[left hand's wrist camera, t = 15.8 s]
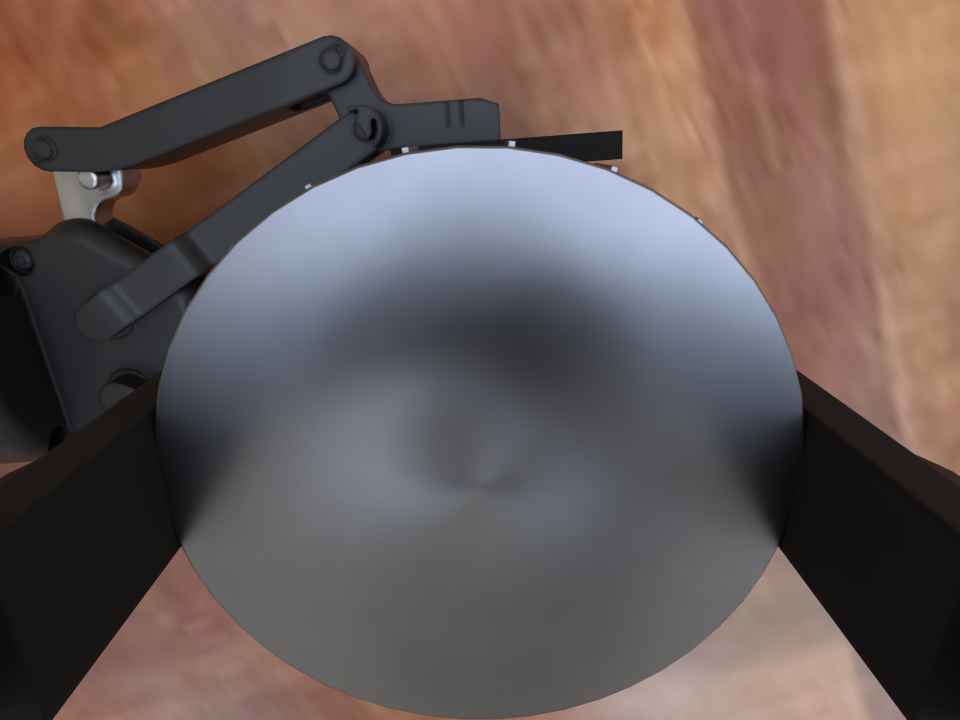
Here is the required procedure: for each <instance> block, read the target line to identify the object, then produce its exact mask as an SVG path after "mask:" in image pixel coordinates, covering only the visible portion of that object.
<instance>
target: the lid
mask: <svg viewBox="0 0 960 720" xmlns="http://www.w3.org/2000/svg"><path fill="white" fill-rule="evenodd" d="M515 145H516V141H510V140H509V141H505V145H504V146H450V147H443V148H435V149H427V150H420V151H419V149H418V146H407V147H403V148H401V150H402V154H398V155H395V156H391V157H387V158H384V159H380V160H377V161H373V162H369V163H366V164H362V165H359V166H356V167H354V168H352V169H349V170H347V171H345V172H342V173H340V174H338V175H335V176H333V177H331V178H329V179H326V180H322V181H317V182H313V183H309V184H307V185H305V186H304V188H305V189H306V190H305V191H303V192H301V193H300V194H298V195H297V196H295V197H293V198H292V199H290V200H289V201H287V202H285V203H284V204H282V205H281V206H279V207H277V208H276V209H274V210H273V211H271V212H270V213H269V214H268V215H267V216H265V217H264V218H263V219H262V220H261V221H259V222H258V223H257V224H256V225H255V226H254V227H252V228H251V229H250V230H249V231H248V232H247V233H245V234H244V235H243V236H242V237H241V238H239V239H238V240H237V241H236V242H235V243H234V244H233V245H232V246H231V247H230V248H229V250H228V252H227V253H226V254H225V255H224V256H223V257H222V258H221V260H220V261H219V262H218V263H217V264H216V265H215V266H214V268H213V269H212V270H211V271H210V272H209V273H208V275H207V276H206V278H205V279H204V281H203V283H202V284H201V286H200V287H199V289H198V290H197V292H196V294H195V295H194V297H193V298H192V300H191V302H190V303H189V305H188V306H187V308H186V309H185V311H184V314H183V316H182V318H181V320H180V323H179V325H178V327H177V330H176V332H175V334H174V337H173V339H172V341H171V344H170V346H169V348H168V352H167V356H166V360H165V364H164V367H163V371H162V375H161V379H160V383H159V387H158V395H157V405H156V416H155V426H154V429H155V445H156V451H157V457H158V461H159V466H160V471H161V475H162V480H163V485H164V490H165V494H166V499H167V504H168V508H169V513H170V517H171V521H172V525H173V528H174V531H175V534H176V536H177V538H178V540H179V542H180V544H181V546H182V548H183V550H184V552H185V554H186V556H187V557H188V559H189V561H190V563H191V565H192V567H193V569H194V570H195V572H196V573H197V574H198V576H199V577H200V579H201V580H202V582H203V583H204V584H205V586H206V587H207V589H208V590H209V592H210V593H211V595H212V596H213V597H214V598H215V599H216V601H217V602H218V603H219V604H220V605H221V606H222V607H223V608H224V610H225V611H226V612H227V613H228V614H229V615H230V616H231V617H232V618H233V620H234V621H235V622H236V623H237V624H238V625H239V626H240V627H242V628H243V629H244V630H245V631H246V632H247V633H248V634H250V635H251V636H252V637H253V638H254V639H255V640H256V641H258V642H259V643H260V644H261V645H262V646H263V647H265V648H266V649H267V650H269V651H270V652H272V653H273V654H275V655H276V656H277V657H279V658H280V659H282V660H283V661H285V662H286V663H287V664H289V665H290V666H292V667H293V668H295V669H297V670H299V671H301V672H302V673H304V674H306V675H308V676H310V677H312V678H313V679H315V680H317V681H319V682H321V683H322V684H325V685H327V686H329V687H332V688H334V689H336V690H339V691H341V692H344V693H346V694H348V695H351V696H353V697H355V698H358V699H362V700H365V701H368V702H371V703H375V704H378V705H381V706H384V707H388V708H392V709H397V710H401V711H406V712H411V713H416V714H421V715H428V716H437V717H447V718H457V719H501V718H512V717H524V716H532V715H538V714H543V713H548V712H554V711H559V710H564V709H568V708H571V707H575V706H578V705H582V704H585V703H589V702H592V701H595V700H599V699H601V698H604V697H606V696H609V695H611V694H614V693H616V692H619V691H621V690H624V689H626V688H629V687H631V686H633V685H635V684H637V683H639V682H640V681H642V680H644V679H646V678H648V677H650V676H652V675H654V674H656V673H658V672H659V671H661V670H663V669H664V668H666V667H667V666H669V665H670V664H672V663H673V662H675V661H676V660H678V659H679V658H681V657H682V656H684V655H685V654H687V653H688V652H690V651H691V650H692V649H694V648H695V647H696V646H697V645H698V644H699V643H701V642H702V641H703V640H704V639H705V638H707V637H708V636H709V635H710V634H711V633H712V632H714V631H715V630H716V629H717V628H718V627H719V626H720V625H721V624H722V623H723V622H724V621H725V620H726V619H727V618H728V617H729V616H730V614H731V613H732V612H733V611H734V610H735V609H736V608H737V607H738V606H739V605H740V604H741V603H742V602H743V600H744V599H745V597H746V596H747V595H748V593H749V592H750V591H751V589H752V588H753V586H754V585H755V584H756V582H757V581H758V580H759V578H760V577H761V575H762V574H763V573H764V571H765V569H766V567H767V565H768V563H769V562H770V560H771V558H772V556H773V554H774V552H775V551H776V549H777V547H778V545H779V543H780V541H781V539H782V536H783V534H784V531H785V529H786V526H787V523H788V520H789V516H790V512H791V508H792V503H793V498H794V493H795V489H796V484H797V479H798V475H799V470H800V465H801V460H802V454H803V449H804V436H805V430H804V417H803V404H802V393H801V389H800V384H799V380H798V376H797V372H796V367H795V363H794V359H793V355H792V352H791V350H790V347H789V345H788V342H787V340H786V337H785V335H784V332H783V330H782V327H781V325H780V323H779V320H778V318H777V316H776V314H775V312H774V311H773V309H772V307H771V306H770V304H769V302H768V301H767V299H766V297H765V296H764V294H763V292H762V291H761V289H760V287H759V286H758V284H757V282H756V281H755V279H754V278H753V277H752V276H751V274H750V273H749V272H748V271H747V270H746V268H745V267H744V266H743V265H742V264H741V262H740V261H739V260H738V259H737V258H736V256H735V255H734V254H733V253H732V252H731V250H730V249H729V248H728V247H727V246H726V245H725V244H724V243H723V242H722V241H721V240H720V239H719V238H717V237H716V236H715V235H714V234H713V233H712V232H711V231H710V230H708V229H707V228H706V227H705V226H704V225H703V223H704V222H703V221H702V220H701V219H700V218H697V217H694V216H693V215H691V214H690V213H688V212H687V211H685V210H684V209H682V208H681V207H679V206H678V205H676V204H675V203H673V202H671V201H670V200H668V199H667V198H665V197H664V196H662V195H661V194H659V193H658V192H656V191H655V190H653V189H651V188H649V187H647V186H645V185H643V184H641V183H638V182H636V181H634V180H632V179H630V178H628V177H625V176H623V175H621V174H619V173H617V171H618V169H619V168H618V167H615V166H613V165H607V164H600V163H594V164H592V163H588V162H585V161H582V160H578V159H575V158H572V157H568V156H565V155H562V154H557V153H551V152H544V151H538V150H531V149H524V148H518V147H515Z"/></svg>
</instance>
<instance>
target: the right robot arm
mask: <svg viewBox="0 0 960 720" xmlns="http://www.w3.org/2000/svg"><path fill="white" fill-rule="evenodd" d="M331 101H332V103H333V105H334V107H335V109H336V111H337V113H338V115H339V117H340V119H339V120H337V121H336V122H335V123H333V124H332V125H331V126H329V127H328V128H327V129H325V130H324V131H323V132H321V133H320V134H319V135H317V136H316V137H315V138H313V139H312V140H310V141H309V142H308V143H306V144H305V145H304V146H302V147H301V148H300V149H298V150H297V151H296V152H294V153H293V154H292V155H290V156H289V157H288V158H286V159H285V160H284V161H282V162H281V163H279V164H278V165H277V166H275V167H274V168H273V169H271V170H270V171H269V172H267V173H266V174H265V175H263V176H262V177H261V178H259V179H258V180H257V181H255V182H254V183H253V184H251V185H250V186H248V187H247V188H246V189H244V190H243V191H242V192H240V193H239V194H238V195H236V196H235V197H234V198H232V199H231V200H230V201H228V202H227V203H226V204H224V205H223V206H222V207H220V208H219V209H217V210H216V211H215V212H213V213H212V214H211V215H209V216H208V217H207V218H205V219H204V220H203V221H201V222H200V223H199V224H197V225H196V226H195V227H193V228H192V229H190V230H189V231H187V232H186V233H184V234H182V235H180V236H179V237H177V238H175V239H173V240H172V241H170V242H168V243H167V244H166V245H163V244H161V243H159V242H158V241H156V240H154V239H152V238H150V237H149V236H147V235H145V234H143V233H141V232H140V231H138V230H136V229H134V228H133V227H131V226H129V225H127V224H125V223H124V222H122V221H120V220H118V219H116V218H113V216H112V209H113V205H114V204H115V202H116V201H117V200H118V199H119V198H121V197H124V196H128V195H131V194H132V193H134V192H135V191H136V189H137V188H138V184H139V183H140V181H141V173H140V171H139V170H138V169H149V168H156V167H162V166H166V165H169V164H173V163H176V162H179V161H181V160H184V159H186V158H189V157H191V156H194V155H196V154H199V153H202V152H204V151H207V150H209V149H212V148H214V147H217V146H219V145H222V144H224V143H227V142H229V141H232V140H235V139H237V138H240V137H242V136H245V135H247V134H250V133H252V132H255V131H257V130H260V129H263V128H265V127H268V126H270V125H273V124H275V123H278V122H280V121H283V120H285V119H288V118H290V117H293V116H296V115H298V114H301V113H303V112H306V111H308V110H311V109H313V108H316V107H318V106H321V105H324V104H326V103H329V102H331ZM509 140H510V141H516V145H515V147H518V148H524V149H531V150H538V151H544V152H551V153H557V154H562V155H565V156H568V157H572V158H575V159H578V160H582V161H585V162H587V161H600V160H613V159H622V131H609V132H596V133H583V134H570V135H557V136H544V137H531V138H518V139H505V140H501V136H500V118H499V104H497V103H494V102H491V101H488V100H485V99H482V98H474V99H462V100H449V101H436V102H423V103H411V104H391V103H389V102H387V101H386V100H385V99H384V98H383V96H382V95H381V93H380V92H379V90H378V87H377V85H376V83H375V81H374V79H373V77H372V74H371V72H370V70H369V64H368V62H367V60H366V59H365V57H364V56H363V55H362V54H361V53H359V52H358V51H357V50H356V49H355V48H353V47H352V46H351V45H349V44H348V43H347V42H345V41H344V40H342V39H341V38H339V37H336V36H332V35H330V36H324V37H321V38H318V39H316V40H313V41H311V42H309V43H306V44H304V45H301V46H299V47H296V48H294V49H291V50H289V51H286V52H284V53H282V54H279V55H277V56H274V57H272V58H269V59H267V60H264V61H262V62H260V63H257V64H255V65H252V66H250V67H247V68H245V69H242V70H240V71H237V72H235V73H233V74H230V75H228V76H225V77H223V78H220V79H218V80H215V81H213V82H210V83H208V84H206V85H203V86H201V87H198V88H196V89H193V90H191V91H188V92H186V93H184V94H181V95H179V96H176V97H174V98H171V99H169V100H166V101H164V102H161V103H159V104H157V105H154V106H152V107H149V108H147V109H144V110H142V111H139V112H137V113H134V114H132V115H130V116H127V117H125V118H122V119H120V120H117V121H115V122H112V123H110V124H108V125H105V126H103V127H100V128H96V127H37V128H33V129H31V130H30V131H29V132H28V133H27V134H26V137H25V139H24V149H25V152H26V154H27V156H28V158H29V159H30V161H31V162H32V163H33V164H34V165H35V166H37V167H38V168H40V169H42V170H45V171H50V172H53V174H54V178H55V183H56V187H57V192H58V196H59V201H60V205H61V210H62V214H63V218H64V221H62V222H60V223H58V224H57V225H55V226H54V227H53V228H52V229H51V230H49V231H48V232H47V233H45V234H43V235H40V236H27V237H14V238H0V463H16V462H31V461H36V460H37V459H39V458H40V457H42V456H43V455H44V454H46V453H47V452H49V451H50V450H51V449H53V448H54V447H56V446H57V445H58V444H60V443H61V442H63V441H64V440H65V439H67V438H68V437H70V436H71V435H72V434H74V433H75V432H77V431H78V430H79V429H81V428H82V427H84V426H85V425H86V424H88V423H89V422H91V421H92V420H93V419H95V418H96V417H98V416H99V415H100V414H102V413H103V412H105V411H106V410H107V409H109V408H110V407H112V406H113V405H114V404H116V403H117V402H119V401H120V400H121V399H123V398H124V397H126V396H127V395H128V394H130V393H131V392H133V391H134V390H135V389H137V388H138V387H140V386H141V385H142V384H144V383H145V382H147V381H148V380H149V379H151V378H152V377H154V376H155V375H156V374H158V373H159V372H161V371H162V370H163V367H164V364H165V360H166V356H167V352H168V348H169V346H170V344H171V341H172V339H173V337H174V334H175V332H176V330H177V327H178V325H179V323H180V320H181V318H182V316H183V314H184V311H185V309H186V308H187V306H188V305H189V303H190V302H191V300H192V298H193V297H194V295H195V294H196V292H197V290H198V289H199V287H200V286H201V284H202V283H203V281H204V279H205V278H206V276H207V275H208V273H209V272H210V271H211V270H212V269H213V268H214V266H215V265H216V264H217V263H218V262H219V261H220V260H221V258H222V257H223V256H224V255H225V254H226V253H227V252H228V250H229V248H230V247H231V246H232V245H233V244H234V243H235V242H236V241H237V240H238V239H239V238H241V237H242V236H243V235H244V234H245V233H247V232H248V231H249V230H250V229H251V228H252V227H254V226H255V225H256V224H257V223H258V222H259V221H261V220H262V219H263V218H264V217H265V216H267V215H268V214H269V213H270V212H271V211H273V210H274V209H276V208H277V207H279V206H281V205H282V204H284V203H285V202H287V201H289V200H290V199H292V198H293V197H295V196H297V195H298V194H300V193H301V192H303V191H305V190H306V189H305V188H304V186H305V185H307V184H309V183H313V182H317V181H322V180H326V179H329V178H331V177H333V176H335V175H338V174H340V173H342V172H345V171H347V170H349V169H352V168H354V167H356V166H359V165H362V164H366V163H369V162H371V161H372V160H374V159H375V158H376V157H378V156H379V155H381V154H382V153H383V152H385V151H387V150H391V156H395V155H398V154H402V150H401V148H403V147H407V146H418V149H419V151H420V150H427V149H435V148H443V147H450V146H504V145H505V141H509Z"/></svg>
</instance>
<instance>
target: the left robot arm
mask: <svg viewBox="0 0 960 720" xmlns="http://www.w3.org/2000/svg"><path fill="white" fill-rule="evenodd" d="M162 371H163V370H162ZM162 371H161V372H159V373H158V374H156V375H155V376H154V377H152V378H151V379H149V380H148V381H147V382H145V383H144V384H142V385H141V386H140V387H138V388H137V389H135V390H134V391H133V392H131V393H130V394H128V395H127V396H126V397H124V398H123V399H121V400H120V401H119V402H117V403H116V404H114V405H113V406H112V407H110V408H109V409H107V410H106V411H105V412H103V413H102V414H100V415H99V416H98V417H96V418H95V419H93V420H92V421H91V422H89V423H88V424H86V425H85V426H84V427H82V428H81V429H79V430H78V431H77V432H75V433H74V434H72V435H71V436H70V437H68V438H67V439H65V440H64V441H63V442H61V443H60V444H58V445H57V446H56V447H54V448H53V449H51V450H50V451H49V452H47V453H46V454H44V455H43V456H42V457H40V458H39V459H37V460H36V461H34V462H32V463H30V464H28V465H25V466H23V467H21V468H19V469H17V470H15V471H12V472H10V473H8V474H6V475H5V476H3V477H2V478H1V479H0V720H53V718H54V717H55V715H56V714H57V713H58V711H59V710H60V709H61V707H62V706H63V705H64V703H65V702H66V701H67V699H68V698H69V697H70V695H71V694H72V693H73V691H74V690H75V689H76V687H77V686H78V684H79V683H80V682H81V680H82V679H83V678H84V676H85V675H86V674H87V672H88V671H89V670H90V668H91V667H92V666H93V664H94V663H95V662H96V660H97V659H98V657H99V656H100V655H101V653H102V652H103V651H104V649H105V648H106V647H107V645H108V644H109V643H110V641H111V640H112V639H113V637H114V636H115V635H116V633H117V632H118V631H119V629H120V628H121V626H122V625H123V624H124V622H125V621H126V620H127V618H128V617H129V616H130V614H131V613H132V612H133V610H134V609H135V608H136V606H137V605H138V604H139V602H140V601H141V599H142V598H143V597H144V595H145V594H146V593H147V591H148V590H149V589H150V587H151V586H152V585H153V583H154V582H155V581H156V579H157V578H158V577H159V575H160V574H161V573H162V571H163V570H164V568H165V567H166V566H167V564H168V563H169V562H170V560H171V559H172V558H173V556H174V555H175V554H176V552H177V551H178V550H179V548H180V547H181V544H180V542H179V540H178V538H177V536H176V534H175V531H174V528H173V525H172V521H171V517H170V513H169V508H168V504H167V499H166V494H165V490H164V485H163V480H162V475H161V471H160V466H159V461H158V457H157V451H156V445H155V429H154V426H155V416H156V405H157V395H158V387H159V383H160V379H161V375H162ZM796 372H797V376H798V380H799V384H800V389H801V393H802V404H803V417H804V430H805V436H804V449H803V454H802V460H801V465H800V470H799V475H798V479H797V484H796V489H795V493H794V498H793V503H792V508H791V512H790V516H789V520H788V523H787V526H786V529H785V531H784V534H783V536H782V539H781V541H780V543H779V545H778V546H779V548H780V549H781V550H782V552H783V553H784V554H785V556H786V557H787V559H788V560H789V561H790V563H791V564H792V565H793V567H794V568H795V569H796V571H797V572H798V573H799V575H800V576H801V577H802V579H803V580H804V581H805V583H806V584H807V586H808V587H809V588H810V590H811V591H812V592H813V594H814V595H815V596H816V598H817V599H818V600H819V602H820V603H821V604H822V606H823V607H824V608H825V610H826V611H827V612H828V614H829V615H830V617H831V618H832V619H833V621H834V622H835V623H836V625H837V626H838V627H839V629H840V630H841V631H842V633H843V634H844V635H845V637H846V638H847V639H848V641H849V642H850V644H851V645H852V646H853V648H854V649H855V650H856V652H857V653H858V654H859V656H860V657H861V658H862V660H863V661H864V662H865V664H866V665H867V666H868V668H869V669H870V671H871V672H872V673H873V675H874V676H875V677H876V679H877V680H878V681H879V683H880V684H881V685H882V687H883V688H884V689H885V691H886V692H887V693H888V695H889V696H890V698H891V699H892V700H893V702H894V703H895V704H896V706H897V707H898V708H899V710H900V711H901V712H902V714H903V715H904V716H905V718H906V719H907V720H960V476H958V475H957V474H956V473H954V472H953V471H951V470H948V469H946V468H944V467H942V466H939V465H937V464H935V463H933V462H931V461H928V460H926V459H924V458H922V457H920V456H917V455H915V454H913V453H912V452H911V451H909V450H908V449H906V448H905V447H904V446H902V445H901V444H899V443H898V442H897V441H895V440H894V439H892V438H891V437H890V436H888V435H887V434H885V433H884V432H883V431H881V430H880V429H878V428H877V427H876V426H874V425H873V424H871V423H870V422H869V421H867V420H866V419H864V418H863V417H862V416H860V415H859V414H857V413H856V412H855V411H853V410H852V409H850V408H849V407H848V406H846V405H845V404H843V403H842V402H841V401H839V400H838V399H836V398H835V397H834V396H832V395H831V394H829V393H828V392H827V391H825V390H824V389H822V388H821V387H820V386H818V385H817V384H815V383H814V382H813V381H811V380H810V379H808V378H807V377H806V376H804V375H803V374H801V373H800V372H799V371H797V370H796Z"/></svg>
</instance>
